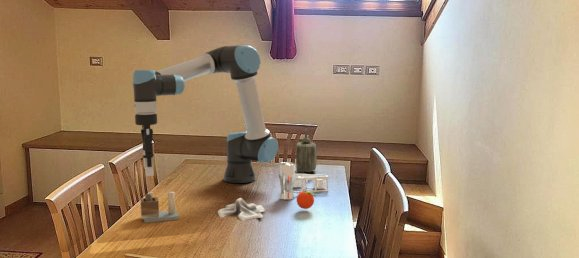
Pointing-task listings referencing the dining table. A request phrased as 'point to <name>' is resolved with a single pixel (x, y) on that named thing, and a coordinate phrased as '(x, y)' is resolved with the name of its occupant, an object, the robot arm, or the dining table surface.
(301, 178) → the clear divided organizer
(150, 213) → the brown open cube
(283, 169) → the beer glass
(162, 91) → the robot arm
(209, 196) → the dining table surface
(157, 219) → the pin stand
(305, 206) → the clementine
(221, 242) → the dining table surface
